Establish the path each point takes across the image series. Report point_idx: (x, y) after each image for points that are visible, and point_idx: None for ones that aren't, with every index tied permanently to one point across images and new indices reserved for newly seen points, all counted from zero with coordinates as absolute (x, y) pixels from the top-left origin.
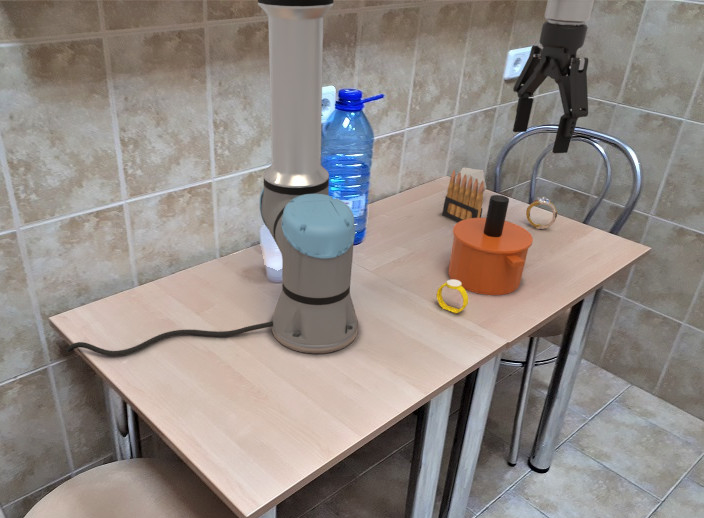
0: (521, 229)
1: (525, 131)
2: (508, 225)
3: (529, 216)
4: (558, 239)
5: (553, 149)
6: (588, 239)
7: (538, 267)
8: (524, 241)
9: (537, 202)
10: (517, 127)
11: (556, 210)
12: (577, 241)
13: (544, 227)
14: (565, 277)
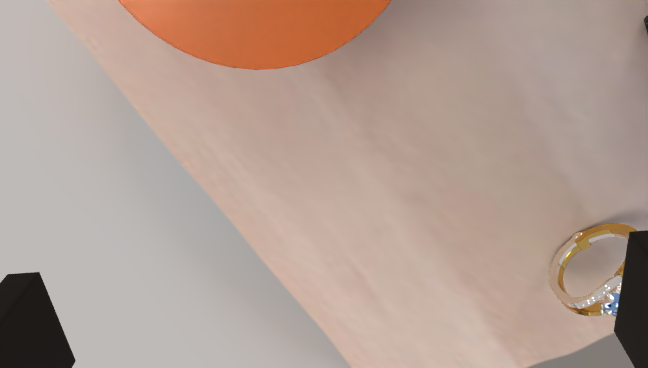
0: (280, 50)
1: (615, 324)
2: (325, 11)
3: (621, 233)
4: (489, 256)
5: (19, 288)
6: (468, 330)
7: (323, 112)
8: (162, 6)
9: (622, 273)
10: (645, 275)
11: (572, 310)
12: (463, 298)
13: (561, 251)
14: (256, 160)
